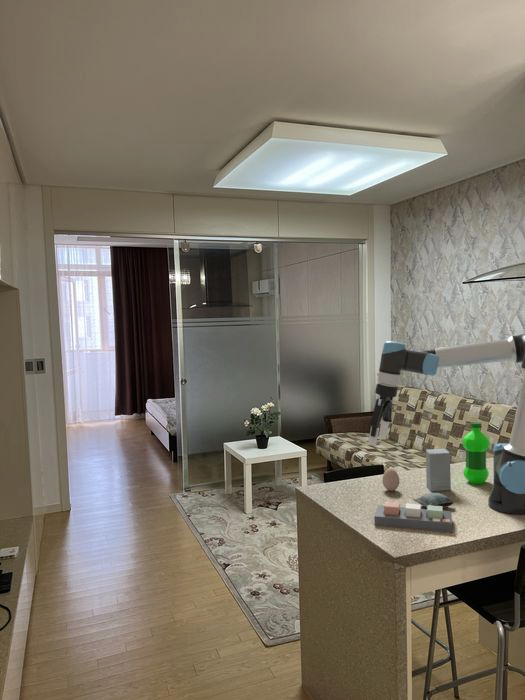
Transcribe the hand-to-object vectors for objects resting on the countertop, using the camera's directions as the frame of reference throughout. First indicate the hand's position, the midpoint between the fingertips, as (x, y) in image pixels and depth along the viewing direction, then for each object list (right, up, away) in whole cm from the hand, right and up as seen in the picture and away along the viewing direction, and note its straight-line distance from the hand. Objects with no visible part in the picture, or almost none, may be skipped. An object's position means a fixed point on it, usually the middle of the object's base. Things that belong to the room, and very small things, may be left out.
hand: (377, 441), depth 191 cm
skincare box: (+29, -23, +22) cm, 44 cm away
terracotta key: (+3, -24, -10) cm, 26 cm away
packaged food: (+21, -25, +3) cm, 32 cm away
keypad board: (+10, -25, -12) cm, 30 cm away
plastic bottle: (+48, -22, +30) cm, 61 cm away
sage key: (+16, -24, -14) cm, 32 cm away
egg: (+10, -24, +21) cm, 33 cm away
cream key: (+9, -24, -12) cm, 28 cm away
